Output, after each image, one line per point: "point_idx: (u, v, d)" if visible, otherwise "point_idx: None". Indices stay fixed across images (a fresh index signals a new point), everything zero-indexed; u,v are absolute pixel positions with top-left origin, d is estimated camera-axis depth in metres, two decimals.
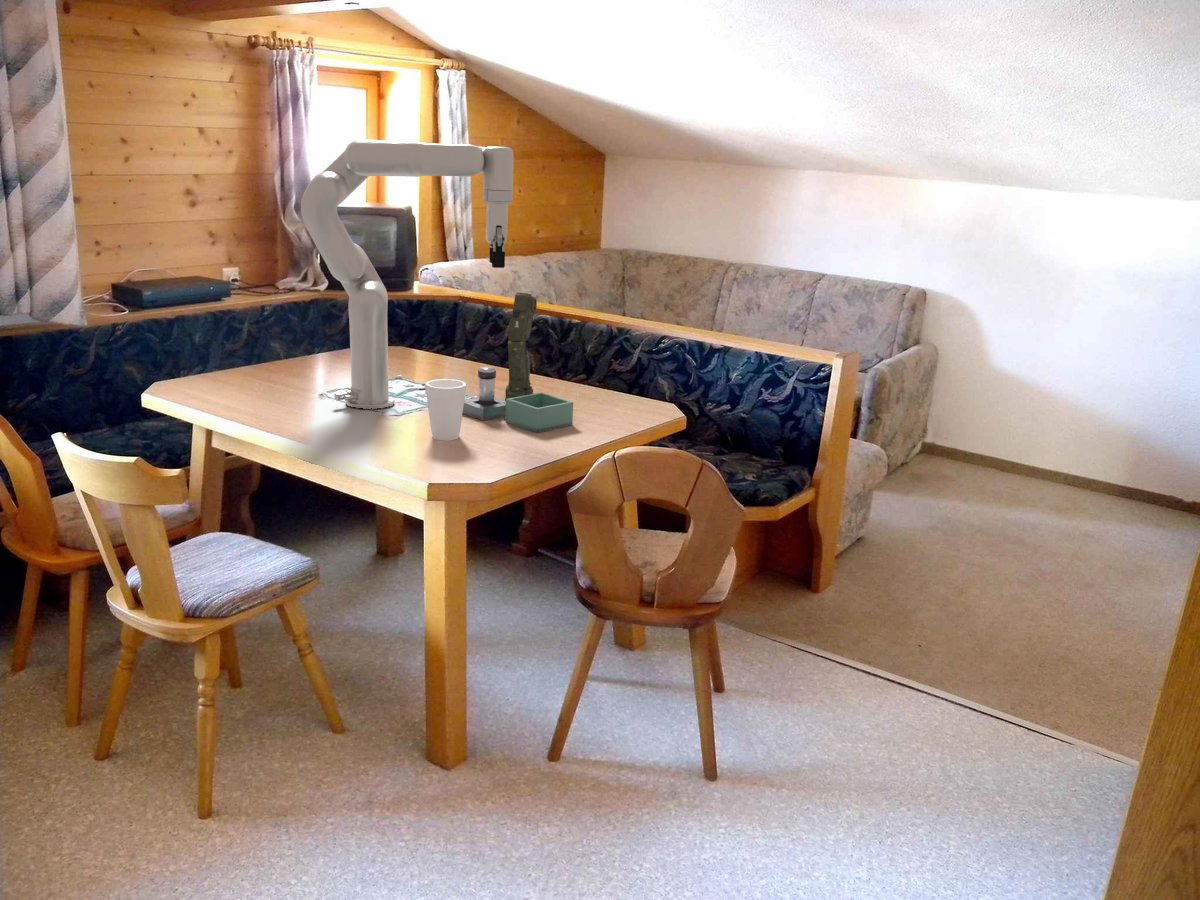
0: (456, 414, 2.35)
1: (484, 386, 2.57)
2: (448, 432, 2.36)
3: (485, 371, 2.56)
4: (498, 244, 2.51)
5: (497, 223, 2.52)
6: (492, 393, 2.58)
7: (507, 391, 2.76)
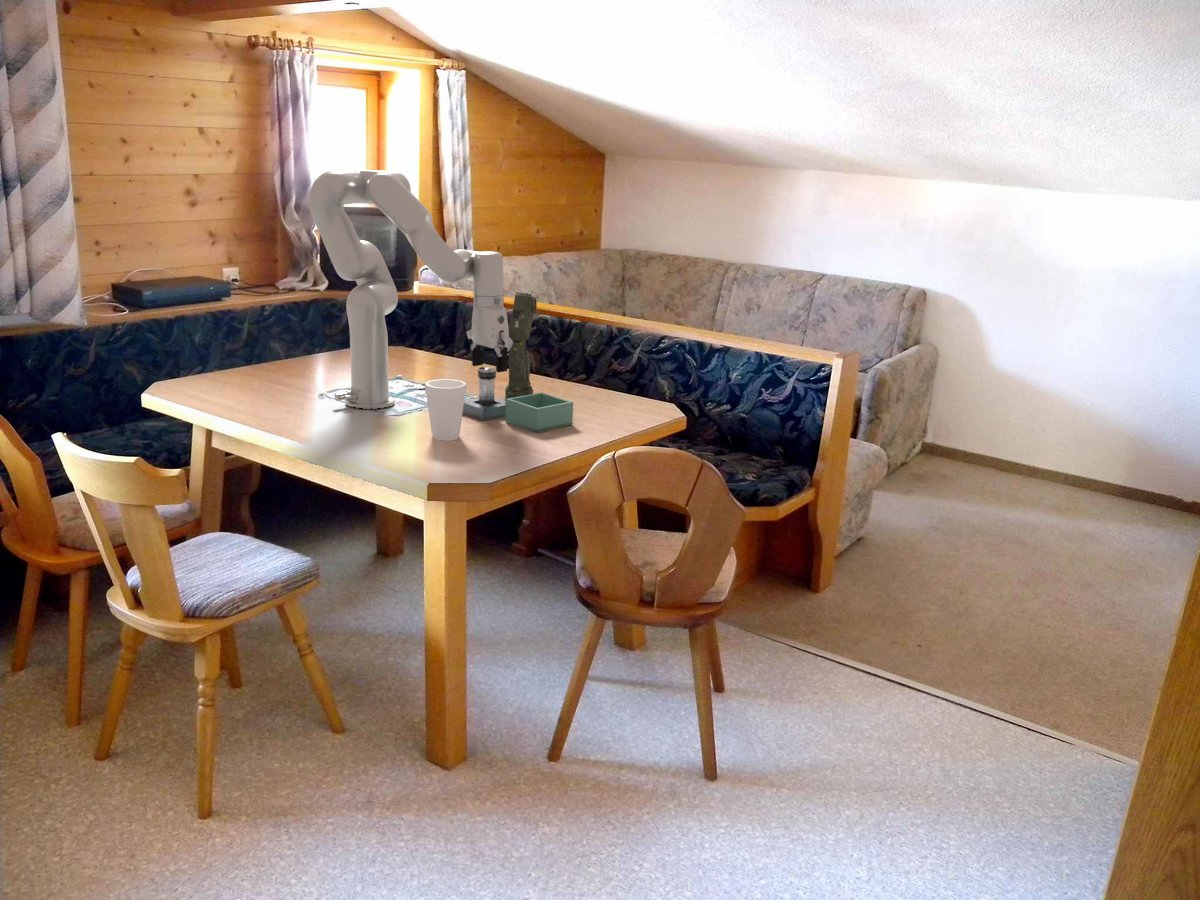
0: (456, 414, 2.35)
1: (484, 386, 2.57)
2: (448, 432, 2.36)
3: (485, 371, 2.56)
4: None
5: None
6: (492, 393, 2.58)
7: (507, 391, 2.76)
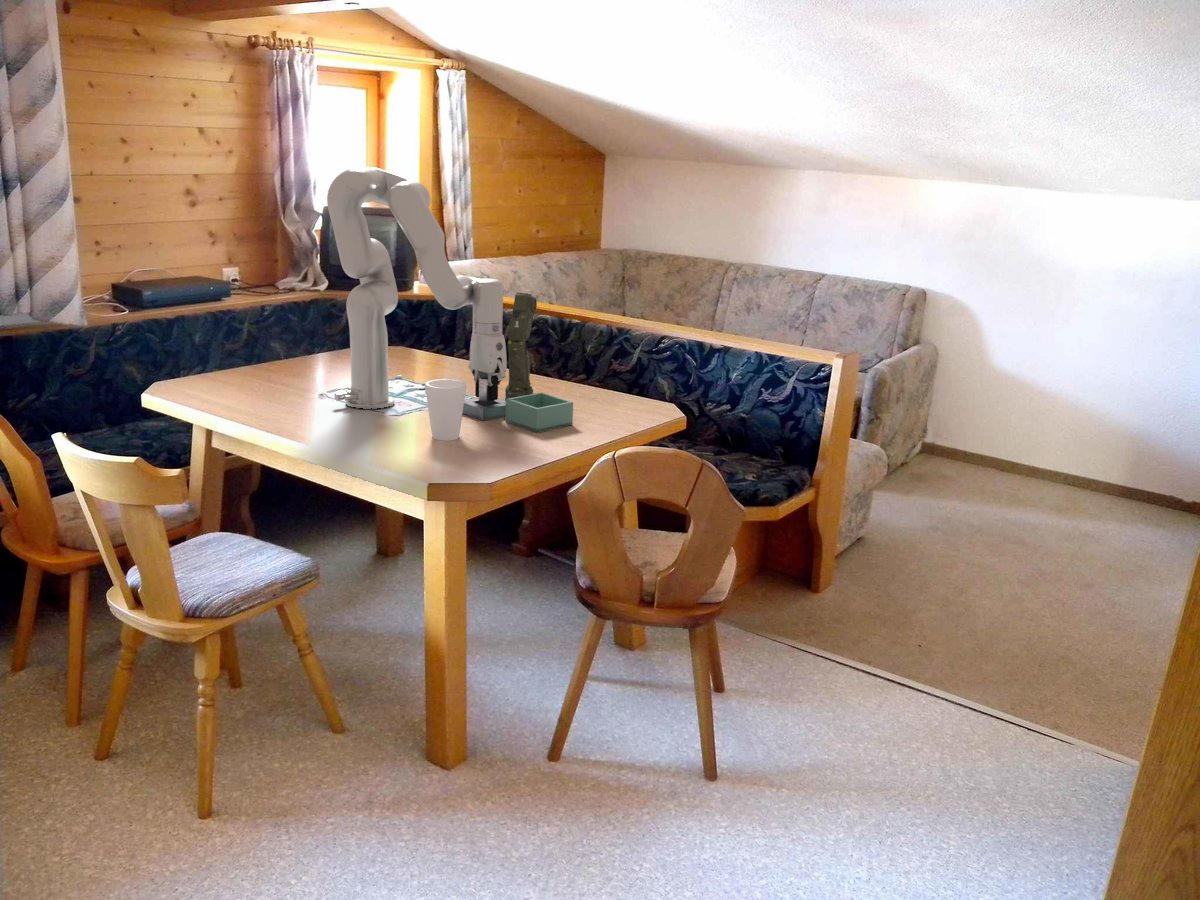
0: (456, 414, 2.35)
1: (484, 386, 2.57)
2: (448, 432, 2.36)
3: None
4: None
5: None
6: None
7: (507, 391, 2.76)
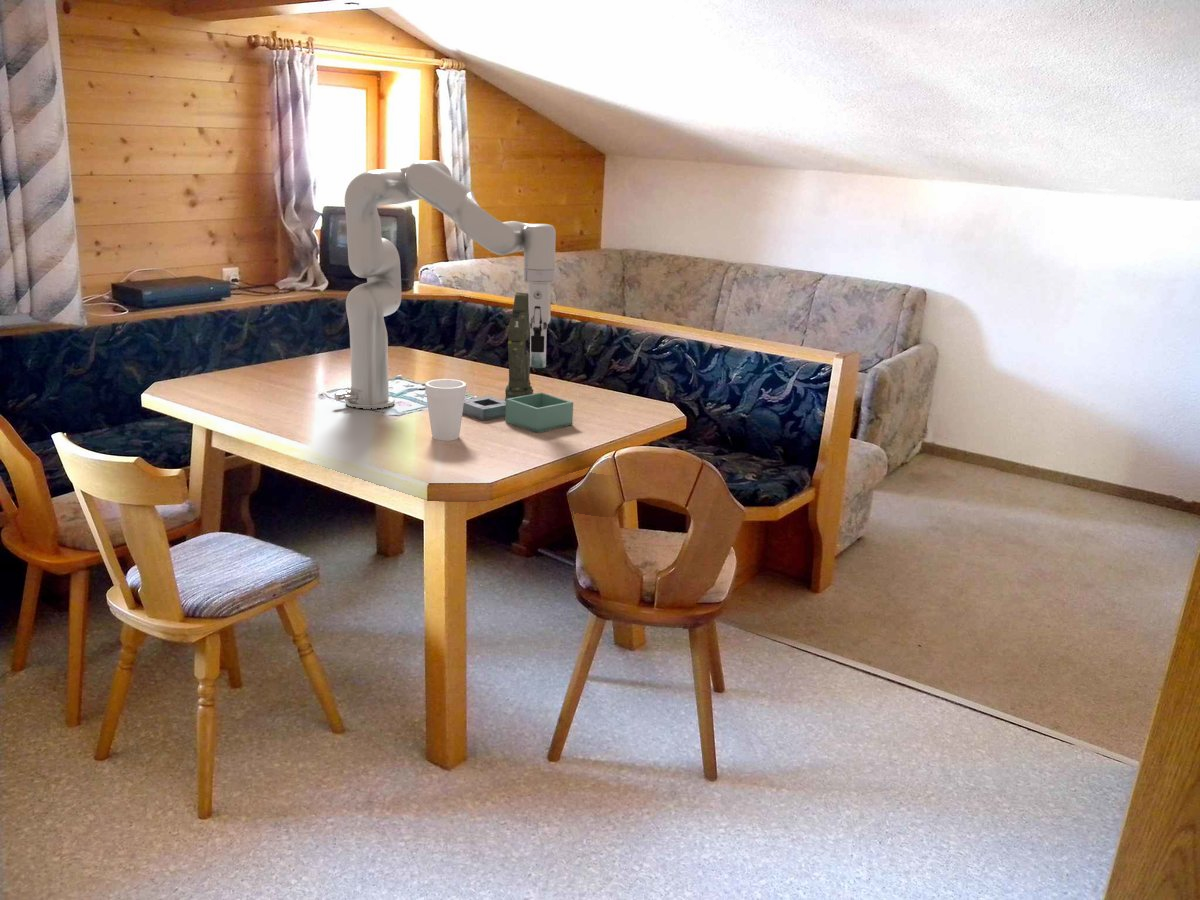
0: (456, 414, 2.35)
1: None
2: (448, 432, 2.36)
3: None
4: None
5: None
6: None
7: (507, 391, 2.76)
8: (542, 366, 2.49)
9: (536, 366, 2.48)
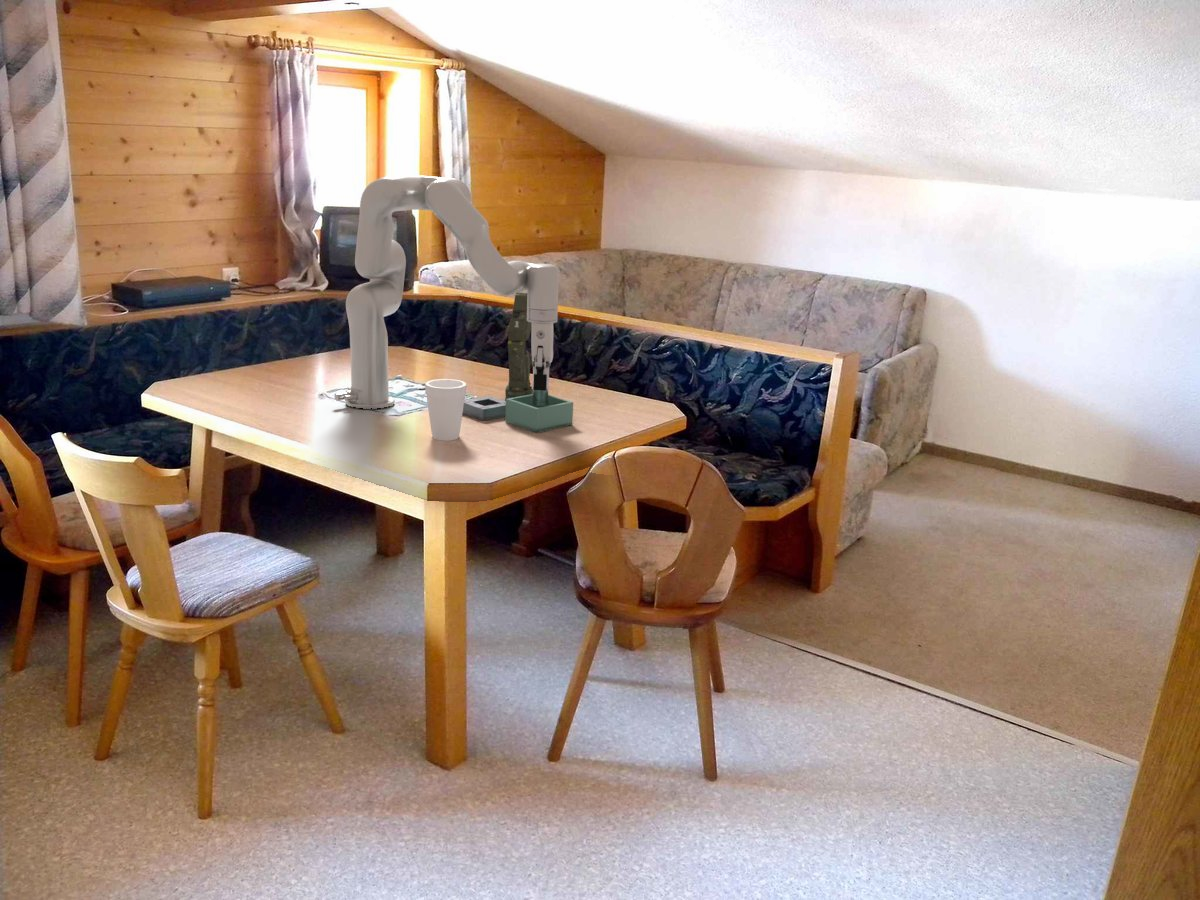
0: (456, 414, 2.35)
1: None
2: (448, 432, 2.36)
3: None
4: None
5: None
6: None
7: (507, 391, 2.76)
8: (544, 404, 2.51)
9: (539, 404, 2.51)
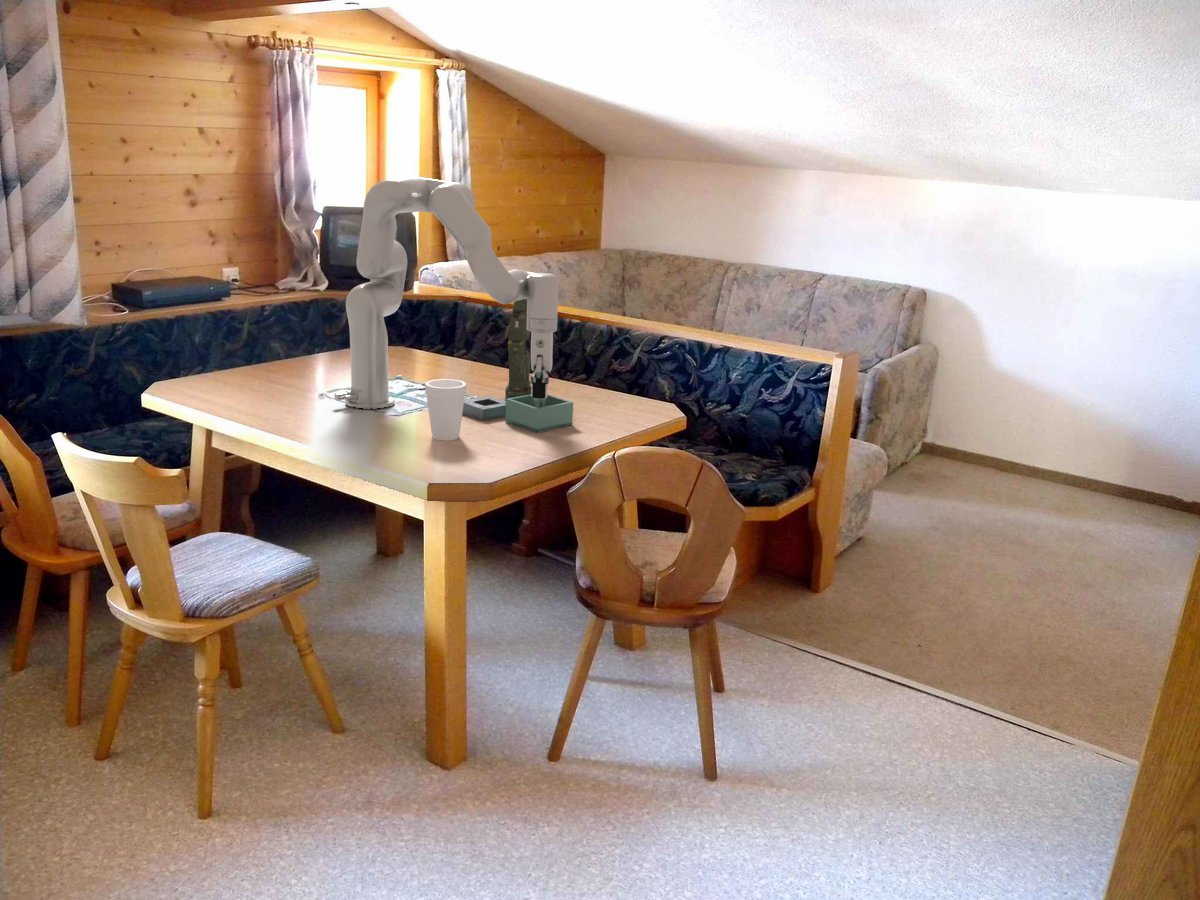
0: (456, 414, 2.35)
1: None
2: (448, 432, 2.36)
3: (533, 376, 2.49)
4: None
5: None
6: (540, 400, 2.50)
7: (507, 391, 2.76)
8: None
9: None
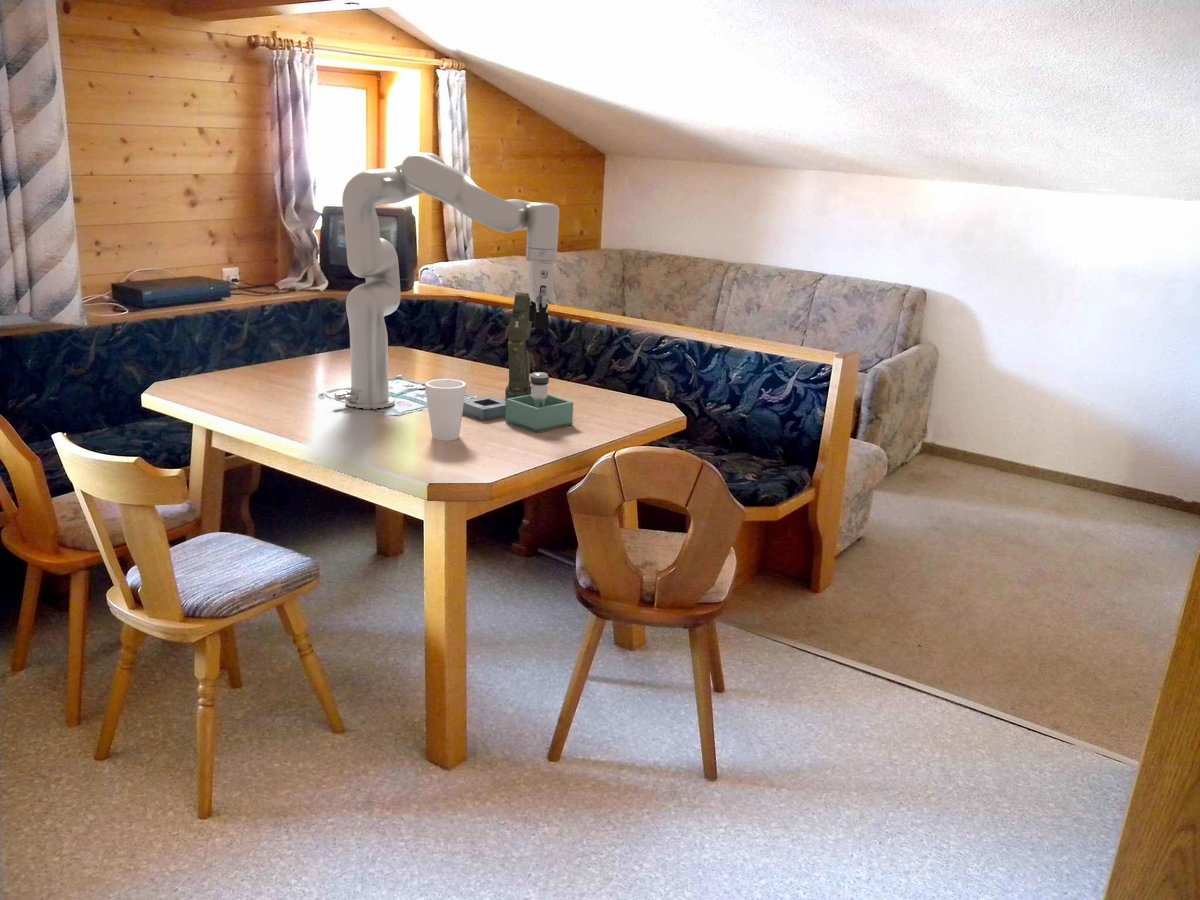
0: (456, 414, 2.35)
1: (532, 391, 2.51)
2: (448, 432, 2.36)
3: (533, 376, 2.49)
4: None
5: None
6: (540, 400, 2.50)
7: (507, 391, 2.76)
8: None
9: None
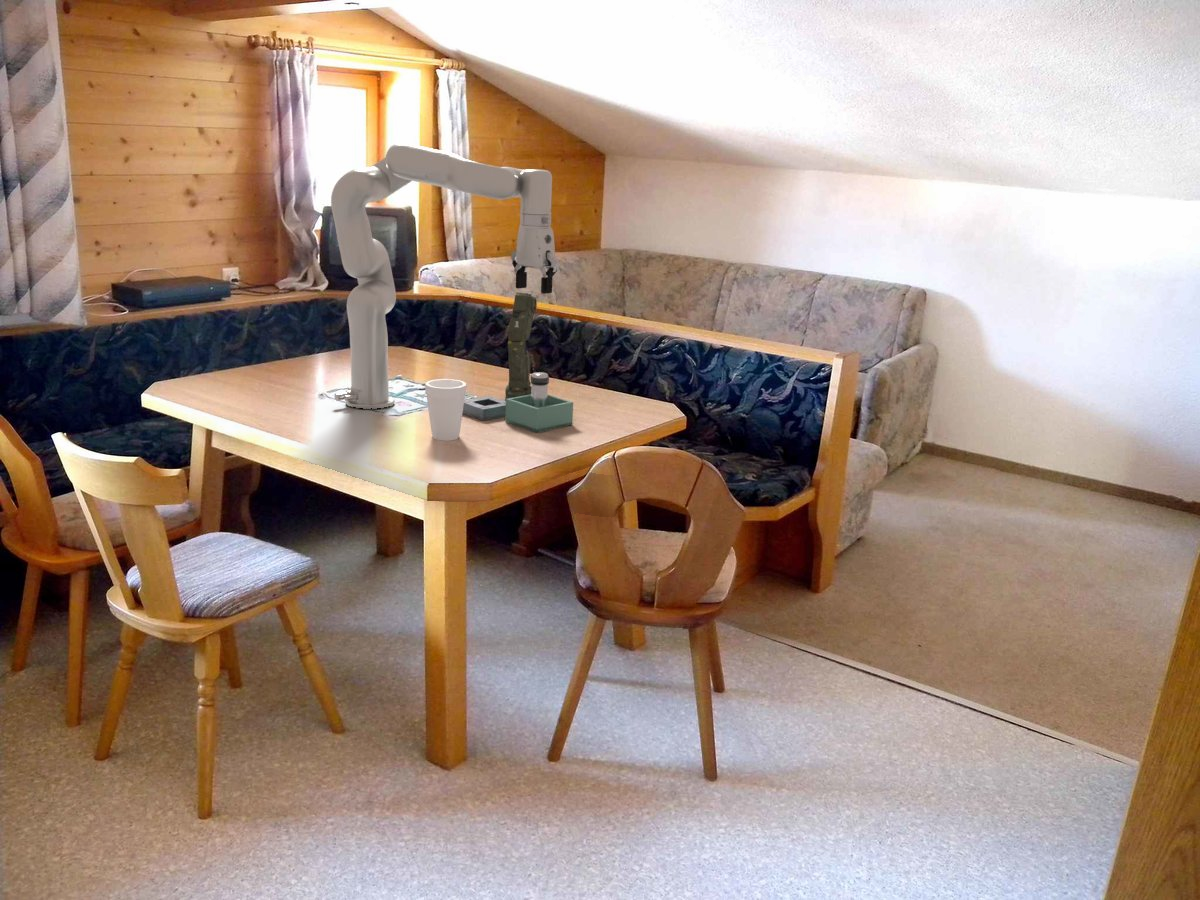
0: (456, 414, 2.35)
1: (532, 392, 2.51)
2: (448, 432, 2.36)
3: (533, 376, 2.49)
4: None
5: None
6: (540, 400, 2.50)
7: (507, 391, 2.76)
8: None
9: None
